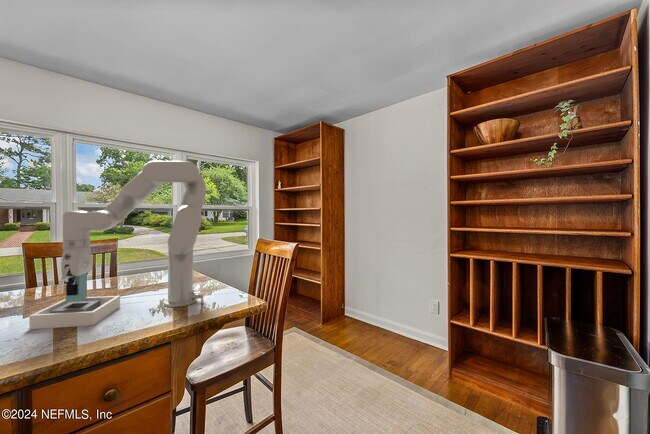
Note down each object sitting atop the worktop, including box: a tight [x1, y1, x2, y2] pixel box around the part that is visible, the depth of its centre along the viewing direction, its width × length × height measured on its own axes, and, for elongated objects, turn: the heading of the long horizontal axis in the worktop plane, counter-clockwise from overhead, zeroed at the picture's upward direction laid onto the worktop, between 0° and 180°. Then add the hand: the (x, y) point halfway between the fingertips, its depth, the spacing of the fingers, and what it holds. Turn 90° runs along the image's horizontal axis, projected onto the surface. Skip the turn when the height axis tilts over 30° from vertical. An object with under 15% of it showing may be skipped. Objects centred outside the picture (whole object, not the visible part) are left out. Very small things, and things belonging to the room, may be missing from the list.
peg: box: [65, 273, 88, 302], centre depth 101 cm, size 4×4×10 cm
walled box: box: [28, 295, 121, 330], centre depth 100 cm, size 18×18×4 cm
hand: (76, 292), depth 101 cm, fingers closed on peg, 4 cm apart
